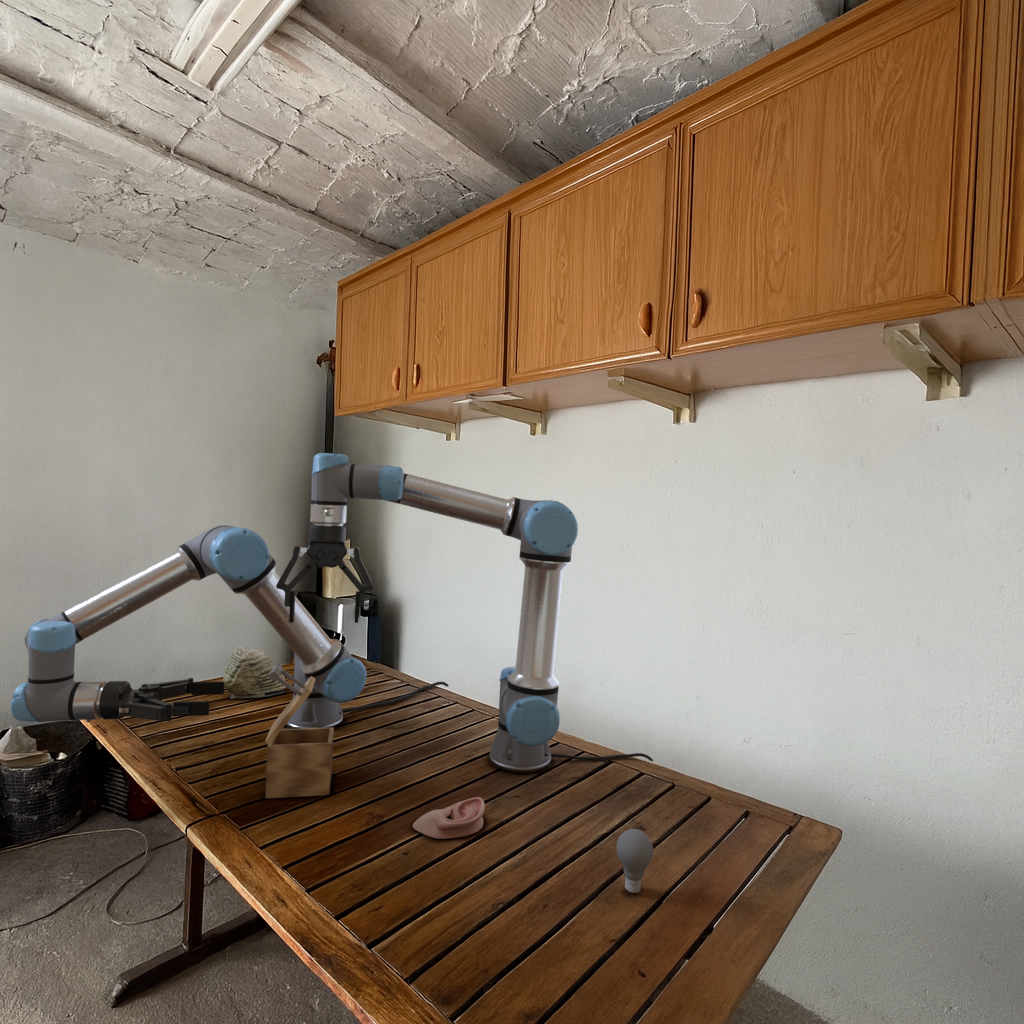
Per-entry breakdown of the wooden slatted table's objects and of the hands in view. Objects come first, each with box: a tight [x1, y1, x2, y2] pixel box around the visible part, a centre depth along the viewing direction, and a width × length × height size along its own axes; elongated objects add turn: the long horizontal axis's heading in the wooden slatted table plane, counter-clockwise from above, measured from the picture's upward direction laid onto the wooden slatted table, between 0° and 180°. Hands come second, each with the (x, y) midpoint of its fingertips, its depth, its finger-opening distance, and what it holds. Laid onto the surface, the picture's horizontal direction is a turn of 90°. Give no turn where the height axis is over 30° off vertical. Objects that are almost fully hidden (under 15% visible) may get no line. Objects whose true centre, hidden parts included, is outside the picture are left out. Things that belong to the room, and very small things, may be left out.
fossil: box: [222, 646, 287, 699], centre depth 198 cm, size 9×18×15 cm, turn 132°
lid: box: [264, 663, 315, 745], centre depth 136 cm, size 14×10×9 cm
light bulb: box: [615, 828, 654, 894], centre depth 106 cm, size 6×6×10 cm
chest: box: [264, 727, 335, 799], centre depth 138 cm, size 13×10×11 cm
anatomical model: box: [412, 796, 486, 840], centre depth 124 cm, size 13×4×12 cm
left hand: (217, 697), depth 134 cm, fingers open, 13 cm apart
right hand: (324, 621), depth 138 cm, fingers open, 13 cm apart
